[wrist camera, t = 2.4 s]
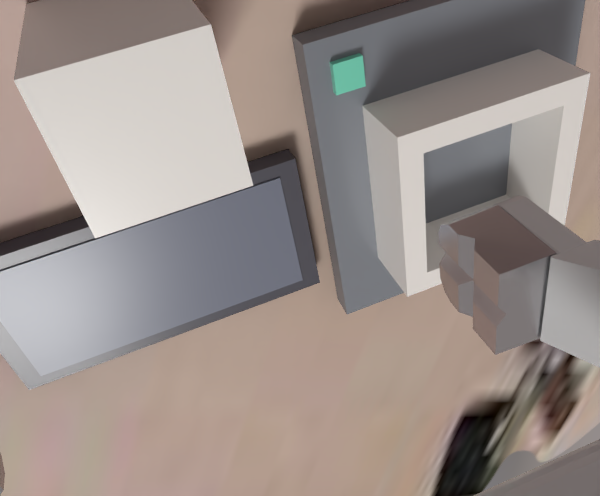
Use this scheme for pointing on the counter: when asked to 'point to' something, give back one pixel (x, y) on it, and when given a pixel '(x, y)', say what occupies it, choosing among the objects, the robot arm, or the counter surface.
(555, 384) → the counter surface
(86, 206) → the block
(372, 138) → the dock
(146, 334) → the phone
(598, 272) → the robot arm
